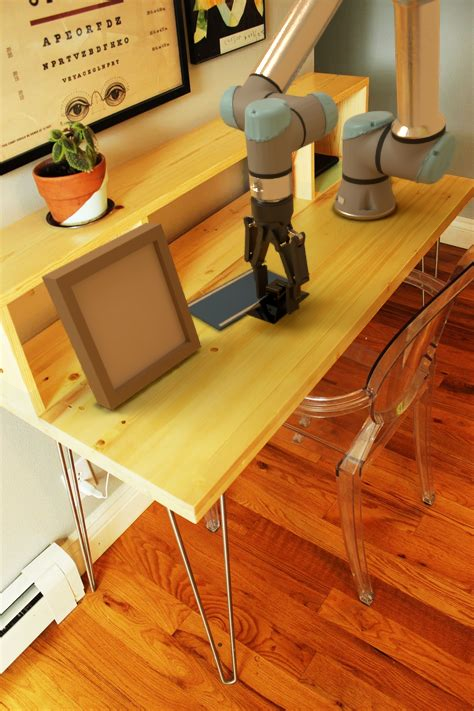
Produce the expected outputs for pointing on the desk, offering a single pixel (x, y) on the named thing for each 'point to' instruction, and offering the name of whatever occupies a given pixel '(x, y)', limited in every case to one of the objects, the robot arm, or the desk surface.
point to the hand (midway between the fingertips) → (277, 303)
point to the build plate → (273, 303)
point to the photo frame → (124, 313)
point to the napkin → (229, 300)
